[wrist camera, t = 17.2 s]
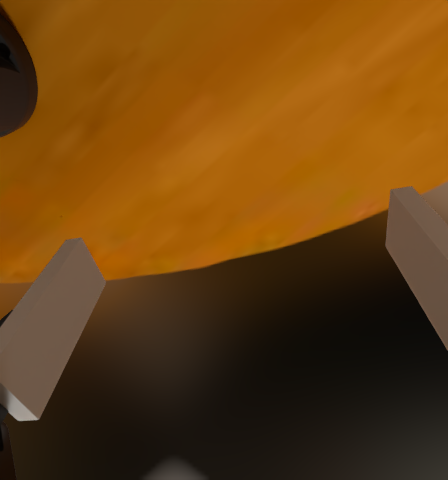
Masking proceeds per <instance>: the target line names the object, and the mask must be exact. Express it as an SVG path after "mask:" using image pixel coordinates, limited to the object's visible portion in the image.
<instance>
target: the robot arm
mask: <svg viewBox="0 0 448 480" xmlns="http://www.w3.org/2000/svg"><path fill="white" fill-rule="evenodd" d="M37 94H38V87H37V78H36V73H35V69H34V66H33V63H32V60H31V58H30V55H29V53H28V51H27V49H26V47H25V45H24V44H23V42H22V40H21V39H20V37H19V35H18V34H17V33H16V31H15V30H14V29H13V27H12V26H11V25H10V24H9V22H8V21H7V20H6V19H5V18H4V17H3V16H2V15H1V14H0V137H3V136H6V135H8V134H10V133H12V132H14V131H15V130H17V129H19V128H20V127H22V126H23V125H24V124H25V123H26V122H27V121H28V120H29V119H30V117H31V116H32V114H33V112H34V109H35V106H36V102H37ZM386 248H387V249H388V251H389V253H390V254H391V256H392V258H393V259H394V261H395V263H396V264H397V266H398V268H399V269H400V271H401V273H402V275H403V276H404V278H405V280H406V281H407V283H408V285H409V286H410V288H411V290H412V291H413V293H414V295H415V296H416V298H417V300H418V301H419V303H420V305H421V306H422V308H423V310H424V311H425V313H426V315H427V316H428V318H429V320H430V321H431V323H432V325H433V326H434V328H435V330H436V332H437V333H438V335H439V336H440V338H441V340H442V342H443V343H444V345H445V347H446V348H447V350H448V225H447V224H446V222H445V221H444V220H443V219H442V218H441V217H440V216H439V215H438V214H437V213H436V212H435V211H434V210H433V209H432V207H431V206H430V205H429V204H428V203H427V202H426V201H425V200H424V199H423V198H422V197H421V196H420V195H419V194H418V193H417V192H416V190H415V189H414V188H413V187H412V186H411V187H405V188H398V189H392V190H391V191H390V202H389V213H388V225H387V236H386ZM105 284H106V281H105V280H104V278H103V276H102V274H101V272H100V270H99V269H98V267H97V265H96V263H95V261H94V260H93V258H92V256H91V254H90V252H89V250H88V249H87V247H86V245H85V243H84V241H83V240H82V238H76V239H69V240H66V241H65V242H64V243H63V245H62V246H61V247H60V249H59V250H58V251H57V253H56V254H55V255H54V257H53V258H52V259H51V261H50V262H49V263H48V265H47V266H46V267H45V269H44V270H43V271H42V272H41V274H40V275H39V276H38V278H37V279H36V280H35V282H34V283H33V284H32V286H31V287H30V288H29V290H28V291H27V292H26V294H25V295H24V296H23V298H22V299H21V300H20V302H19V303H18V304H17V306H16V307H15V308H14V310H12V311H10V312H9V313H8V314H7V315H6V316H5V317H3V318H2V319H1V320H0V480H17V478H16V472H15V466H14V460H13V454H12V448H11V442H10V437H9V430H8V427H7V425H6V423H4V422H3V420H4V418H5V416H6V414H7V413H8V412H9V413H10V414H11V415H12V416H13V417H15V418H16V419H17V420H18V421H25V420H39V418H40V416H41V414H42V412H43V410H44V408H45V406H46V404H47V402H48V400H49V398H50V396H51V394H52V392H53V390H54V388H55V386H56V384H57V382H58V380H59V378H60V376H61V373H62V371H63V369H64V367H65V365H66V363H67V361H68V359H69V357H70V355H71V353H72V351H73V349H74V347H75V345H76V343H77V341H78V339H79V337H80V335H81V332H82V331H83V329H84V327H85V325H86V323H87V321H88V319H89V317H90V315H91V312H92V310H93V308H94V306H95V304H96V302H97V300H98V298H99V296H100V294H101V292H102V290H103V288H104V286H105Z"/></svg>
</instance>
